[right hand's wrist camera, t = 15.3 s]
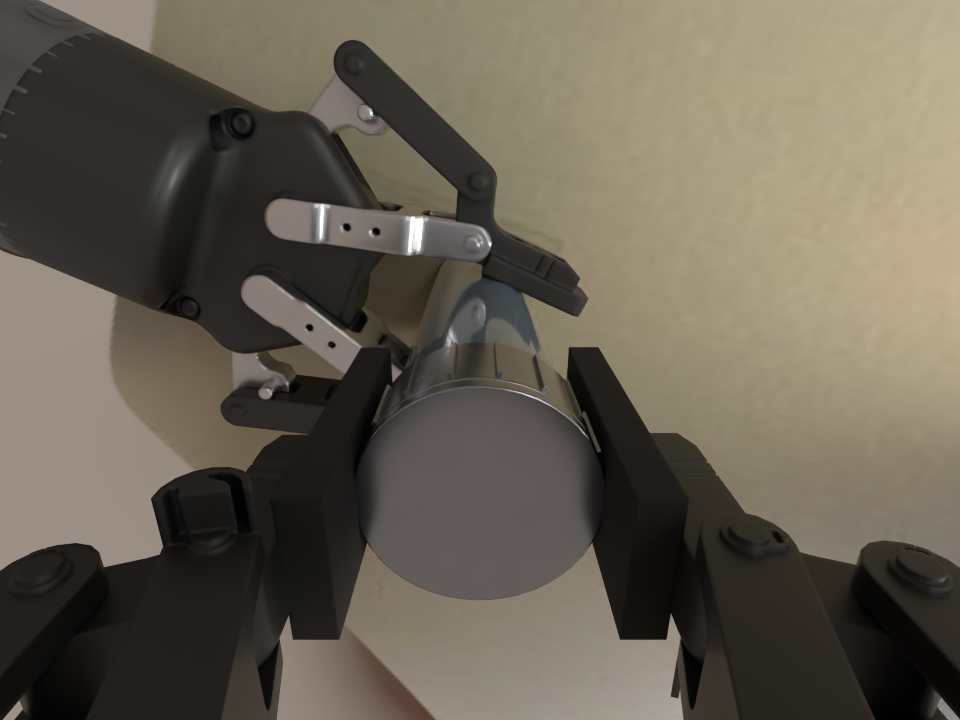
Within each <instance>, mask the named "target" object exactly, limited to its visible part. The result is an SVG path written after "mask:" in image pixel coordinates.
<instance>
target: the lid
mask: <svg viewBox="0 0 960 720" xmlns="http://www.w3.org/2000/svg"><path fill="white" fill-rule="evenodd" d="M370 425H372V427H371V429H370V432H369V434H368V437H367V439H366V442H365V444H364V447H363V450H362V452H361V455H360V457H359V460H358V463H357V466H356V469H355V474H354V486H355V496H356V507H357V517H358V525H359V527H360V529H361V532H362V534H363V536H364V538H365V540H366V541H367V543H368V544H369V546H370V548H371V549H372V550H373V552H374V553H375V554H376V555H377V556H378V558H379V559H380V560H381V561H382V562H383V563H384V564H385V565H386V566H388V567H389V568H390V569H391V570H392V571H393V572H395V573H396V574H398V575H399V576H400V577H402V578H403V579H405V580H407V581H409V582H410V583H412V584H414V585H416V586H418V587H420V588H423V589H425V590H427V591H430V592H433V593H436V594H440V595H443V596H448V597H453V598H458V599H468V600H492V599H500V598H507V597H511V596H516V595H520V594H523V593H526V592H529V591H532V590H535V589H537V588H539V587H541V586H543V585H545V584H548V583H549V582H551V581H552V580H554V579H556V578H557V577H559V576H561V575H562V574H563V573H564V572H566V571H567V570H568V569H569V568H571V567H572V566H573V565H574V564H575V563H576V562H577V561H578V560H579V559H580V558H581V557H582V556H583V554H584V553H585V552H586V550H587V549H588V548H589V546H590V545H591V543H592V542H593V540H594V538H595V536H596V534H597V532H598V530H599V527H600V525H601V521H602V511H603V501H604V491H605V474H604V469H603V465H602V462H601V460H600V456H601V450H600V447H599V445H598V442H597V440H596V437H595V435H594V432H593V430H592V427H591V425H590V422H589V420H588V417H587V415H586V412H582V411H581V408H580V406H579V403H578V401H577V398H576V396H575V393H574V391H573V388H572V386H571V383H570V381H569V380H568V379H566V380H564V379H563V378H562V377H561V375H559V374H558V373H557V372H556V371H555V370H554V369H553V368H552V367H551V366H549V365H548V364H547V363H545V362H544V361H542V360H541V359H540V356H539V355H537V354H535V355H532V354H530V353H528V352H526V351H523V350H520V349H517V348H515V347H511V346H507V345H503V344H500V342H498V341H495V342H494V343H487V342H470V343H463V344H457V343H456V342H455V343H452V344H451V346H448V347H445V348H441V349H439V350H436V351H434V352H432V353H429V354H427V355H425V356H424V357H422V358H420V359H418V358H415V359H414V360H413V362H412V364H411V365H410V366H409V367H407V368H406V369H405V370H404V371H403V372H402V373H401V374H400V375H399V376H398V377H397V378H396V379H395V380H394V382H393V383H392V384H391V386H389V385H388V384H387V385H386V387H385V389H384V391H383V394H382V396H381V399H380V401H379V404H378V406H377V409H376V411H375V414H374V416H373V419H372V421H371V424H370Z"/></svg>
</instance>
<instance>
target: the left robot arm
mask: <svg viewBox="0 0 960 720" xmlns="http://www.w3.org/2000/svg"><path fill="white" fill-rule="evenodd" d="M334 69H335V72H336V74H335V75H334V76H333V78H332V79H331V80H330V82H329V83H328V85H327V86H326V87H325V89H324V90H323V91H322V93H321V94H320V96H319V97H318V98H317V100H316V101H315V102H314V104H313V105H312V107H311V108H310V109H309V111H308V112H307V113H305V112H301V111H284V112H273V111H270V110H267V109H265V108H262V107H260V106H258V105H256V104H254V103H252V102H250V101H247V100H245V99H243V98H241V97H239V96H237V95H235V94H233V93H231V92H229V91H227V90H225V89H222V88H220V87H218V86H216V85H214V84H212V83H210V82H208V81H206V80H204V79H202V78H200V77H198V76H195V75H193V74H191V73H189V72H187V71H185V70H183V69H181V68H179V67H177V66H175V65H173V64H170V63H168V62H166V61H164V60H162V59H160V58H158V57H156V56H154V55H152V54H150V53H148V52H146V51H143V50H141V49H139V48H137V47H135V46H133V45H131V44H129V43H127V42H125V41H123V40H121V39H119V38H116V37H114V36H112V35H110V34H107V33H105V32H103V31H101V30H99V29H97V28H95V27H93V26H91V25H89V24H87V23H85V22H83V21H81V20H79V19H77V18H75V17H73V16H71V15H69V14H67V13H65V12H63V11H60V10H58V9H56V8H54V7H52V6H50V5H48V4H46V3H43V2H41V1H39V0H0V250H2V251H4V252H7V253H9V254H12V255H15V256H19V257H23V258H27V259H31V260H34V261H36V262H38V263H41V264H43V265H46V266H48V267H51V268H53V269H56V270H58V271H60V272H63V273H65V274H68V275H70V276H72V277H75V278H77V279H80V280H82V281H85V282H87V283H90V284H92V285H94V286H97V287H99V288H102V289H104V290H107V291H109V292H112V293H114V294H116V295H119V296H121V297H124V298H126V299H129V300H131V301H133V302H136V303H138V304H141V305H143V306H146V307H148V308H151V309H153V310H156V311H159V312H162V313H166V314H170V315H174V316H178V317H182V318H185V319H188V320H191V321H194V322H196V323H197V324H199V325H200V326H202V327H203V328H204V329H206V330H207V331H208V332H209V333H210V334H211V335H212V336H213V337H214V338H215V339H216V340H217V341H218V342H219V343H220V344H221V345H222V346H223V347H225V348H226V349H228V350H230V351H231V356H232V392H231V393H230V395H229V396H228V397H227V398H226V399H225V400H224V401H223V402H222V404H221V413H222V415H223V417H224V418H225V420H227V421H228V422H229V423H231V424H233V425H237V426H244V427H253V428H261V429H269V430H278V431H286V432H295V433H303V434H310V432H311V430H312V429H313V427H314V425H315V424H316V422H317V420H318V419H319V417H320V415H321V414H322V412H323V410H324V409H325V407H326V405H327V404H328V402H329V400H330V399H331V397H332V395H333V394H334V392H335V390H336V388H337V387H338V385H339V383H340V382H341V380H335V379H327V378H319V377H311V376H303V375H296V373H295V371H294V370H293V368H292V366H291V365H289V364H286V363H284V362H280V361H277V360H275V359H274V358H272V357H271V356H270V354H269V353H268V351H269V350H274V349H279V348H285V347H290V346H295V345H301V344H304V345H305V346H307V347H308V348H309V349H311V350H312V351H313V352H315V353H316V354H317V355H319V356H320V357H321V358H323V359H324V360H325V361H327V362H328V363H329V364H331V365H332V366H333V367H335V368H336V369H337V370H338V371H340V372H341V373H343V374H345V373H346V372H347V370H348V368H349V367H350V365H351V363H352V362H353V360H354V358H355V357H356V355H357V353H358V352H359V350H360V348H361V347H390V348H391V364H392V380H393V382H394V380H395V379H396V378H397V377H398V376H399V375H400V374H401V373H402V372H403V371H404V369H405V366H406V363H407V360H408V357H409V354H410V351H411V348H410V347H408V346H407V345H406V344H405V343H403V342H402V341H401V340H400V339H398V338H397V337H396V336H395V335H393V334H392V333H391V332H390V331H389V330H388V328H387V326H386V324H385V323H384V322H383V321H382V320H381V319H380V318H379V317H378V316H377V315H375V314H374V313H373V312H372V311H370V310H369V309H368V308H367V307H365V306H364V303H365V301H366V298H367V296H368V289H369V280H370V273H371V272H372V270H373V269H374V268H375V266H376V265H377V264H378V262H379V261H380V260H381V259H382V257H383V256H384V253H391V254H398V255H408V256H410V255H425V256H432V257H439V258H445V259H452V260H459V261H466V262H475V263H478V264H480V265H482V274H483V275H485V276H487V277H490V278H492V279H494V280H496V281H498V282H500V283H503V284H505V285H508V286H510V287H512V288H513V289H516V290H518V291H520V292H522V293H524V294H527V295H529V296H531V297H533V298H535V299H537V300H540V301H542V302H544V303H546V304H548V305H550V306H553V307H555V308H557V309H559V310H561V311H563V312H566V313H568V314H570V315H573V316H576V317H579V315H580V313H581V311H582V310H583V308H584V306H585V304H586V302H587V300H588V297H587V296H586V295H585V293H584V292H583V290H582V289H581V288H579V287H578V286H576V285H577V284H578V282H579V280H580V277H579V276H578V275H577V274H576V272H575V271H574V270H573V269H572V268H571V266H570V265H569V264H568V263H567V262H566V261H565V260H564V259H563V258H561V257H559V256H557V255H554V254H552V253H550V252H548V251H546V250H544V249H542V248H539V247H538V246H536V245H533V244H531V243H529V242H527V241H525V240H523V239H521V238H519V237H517V236H515V235H513V234H510V233H508V232H506V231H504V230H503V229H501V228H500V227H499V226H498V225H497V223H496V221H495V219H494V204H495V193H496V186H497V177H496V173H495V171H494V169H493V168H492V166H491V165H490V164H489V163H488V162H487V161H486V160H485V159H484V158H483V157H482V156H481V155H480V154H479V153H477V152H476V151H475V150H474V149H473V148H472V147H471V146H470V145H469V144H468V143H467V142H466V141H465V140H464V139H463V138H462V137H461V136H460V135H459V134H458V133H457V132H456V131H455V130H454V129H453V128H452V127H451V126H450V125H449V124H448V123H447V122H446V121H445V120H444V119H443V118H441V117H440V116H439V115H438V114H437V113H436V112H435V111H434V110H433V109H432V108H431V107H430V106H429V105H428V104H427V103H426V102H425V101H424V100H423V99H422V98H421V97H420V96H419V95H418V94H417V93H416V92H415V91H414V90H413V89H412V88H411V87H410V86H409V85H408V84H407V83H405V82H404V81H403V80H402V79H401V78H400V77H399V76H398V75H397V74H396V73H395V72H394V71H393V70H392V69H391V68H390V67H389V66H388V65H387V64H386V63H385V62H384V61H383V60H382V59H381V58H380V57H379V56H377V55H376V54H375V53H374V52H373V51H372V50H371V49H370V48H369V47H368V46H367V45H365V44H364V43H362V42H360V41H356V40H349V41H346V42H344V43H342V44H341V45H340V46H339V47H338V49H337V50H336V52H335V55H334ZM348 127H354V128H356V129H357V130H359V131H360V132H362V133H364V134H367V135H373V136H380V135H383V134H385V133H386V132H388V130H389V129H390V128H392V129H393V130H394V131H395V132H396V133H397V134H399V135H400V136H401V137H402V138H403V139H404V140H405V141H406V142H407V143H408V144H409V145H410V146H411V147H412V148H413V149H415V150H416V151H417V152H418V153H419V154H420V155H421V156H422V157H423V158H424V159H425V160H426V161H427V162H428V163H429V164H431V165H432V166H433V167H434V168H435V169H436V170H437V171H438V172H439V173H440V174H441V175H442V176H443V177H444V178H445V179H446V180H448V181H449V182H450V183H451V184H452V185H453V186H454V187H455V188H456V189H457V190H458V195H457V210H456V213H452V212H446V211H439V210H433V209H428V208H426V207H422V206H417V205H411V204H404V203H398V202H391V201H385V200H378V199H377V198H376V197H375V195H374V193H373V192H372V190H371V188H370V187H369V185H368V183H367V182H366V180H365V178H364V177H363V175H362V173H361V172H360V170H359V168H358V167H357V165H356V163H355V161H354V160H353V158H352V156H351V155H350V153H349V151H348V150H347V148H346V146H345V145H344V143H343V141H342V140H341V138H340V136H339V135H338V134H339V133H340V132H341V131H342V130H343V129H345V128H348ZM332 341H333V342H334V343H333V342H332Z"/></svg>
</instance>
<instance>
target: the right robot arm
mask: <svg viewBox="0 0 960 720" xmlns="http://www.w3.org/2000/svg"><path fill="white" fill-rule="evenodd" d="M567 379H568V380H569V381H570V383H571V386H572V388H573V391H574V393H575V396H576V398H577V401H578V403H579V406H580V408H581V411H582V412H586V415H587V417H588V420H589V422H590V425H591V427H592V430H593V432H594V435H595V437H596V440H597V442H598V445H599V447H600V450H601V456H600V460H601V462H602V465H603V469H604V474H605V491H604V501H603V511H602V521H601V525H600V527H599V530H598V532H597V534H596V536H595V538H594V540H593V542H592V543H593V546H594V550H595V553H596V557H597V560H598V564H599V567H600V571H601V574H602V578H603V581H604V585H605V588H606V592H607V595H608V599H609V602H610V606H611V609H612V613H613V616H614V620H615V623H616V627H617V630H618V634H619V637H620V640H666V639H667V633H668V627H669V620H670V614H672V617H673V619H674V622H675V624H676V626H677V629H678V631H679V634H680V636H681V640H680V645H679V651H678V656H677V662H676V668H675V673H674V679H673V685H672V692H671V697H675V698H678V697H679V691H680V692H681V700H682V709H683V718H684V720H948V719H947V718H946V717H945V716H944V715H943V714H942V712H941V711H940V710H939V709H938V707H937V705H938V703H939V701H940V698H942V699H943V700H944V701H945V702H946V703H947V705H948V706H949V707H950V708H951V709H952V710H953V712H954V713H955V714H956V715H957V716H958V718H959V719H960V568H959V567H958V566H956V565H955V564H953V563H952V562H950V561H949V560H947V559H945V558H943V557H941V556H939V555H937V554H935V553H932V552H931V551H929V550H927V549H924V548H921V547H918V546H917V547H916V546H914V545H911V544H906V543H901V542H892V541H878V542H872V543H869V544H867V545H866V546H865V547H864V548H863V549H861V551H860V554H859V558H858V561H857V564H856V565H854V564H849V563H844V562H840V561H835V560H830V559H825V558H820V557H816V556H812V555H808V554H804V553H801V552H799V550H798V547H797V546H796V544H795V543H794V541H793V540H792V539H791V537H790V536H789V535H788V534H787V533H786V532H784V531H783V530H782V529H780V528H779V527H778V526H776V525H775V524H773V523H771V522H769V521H766V520H764V519H762V518H760V517H757V516H754V515H750V514H746V513H745V512H744V511H743V509H742V508H741V507H740V505H739V504H738V502H737V501H736V500H735V498H734V497H733V496H732V494H731V493H730V492H729V490H728V489H727V487H726V486H725V485H724V483H723V482H722V481H721V479H720V478H719V476H716V472H715V471H714V470H713V468H712V467H711V465H710V464H709V463H707V460H706V459H705V457H704V456H703V455H702V453H701V452H700V450H699V449H698V448H697V446H696V445H694V444H693V443H691V442H690V441H688V440H687V439H685V438H684V437H682V436H681V435H679V434H678V433H649V431H648V430H647V428H646V426H645V425H644V423H643V421H642V420H641V418H640V416H639V415H638V413H637V411H636V410H635V408H634V406H633V405H632V403H631V401H630V399H629V398H628V396H627V394H626V393H625V391H624V389H623V388H622V386H621V384H620V383H619V381H618V379H617V378H616V376H615V374H614V373H613V371H612V369H611V368H610V366H609V364H608V363H607V361H606V359H605V358H604V356H603V354H602V353H601V351H600V349H599V348H598V347H569V355H568V371H567ZM392 383H393V380H392V364H391V348H390V347H361V348H360V350H359V352H358V353H357V355H356V357H355V358H354V360H353V362H352V363H351V365H350V367H349V368H348V370H347V372H346V373H345V375H344V377H343V378H342V380H341V382H340V383H339V385H338V387H337V388H336V390H335V392H334V394H333V395H332V397H331V399H330V400H329V402H328V404H327V405H326V407H325V409H324V410H323V412H322V414H321V415H320V417H319V419H318V420H317V422H316V424H315V425H314V427H313V429H312V430H311V432H310V434H309V435H282V436H280V437H279V438H277V439H276V440H274V441H273V442H271V443H270V444H268V445H267V446H265V447H264V448H263V449H262V450H261V452H260V453H259V455H258V456H257V457H256V459H255V460H254V462H253V465H251V466H250V467H249V468H248V470H247V471H246V473H245V472H244V471H243V470H239V469H235V468H231V467H212V468H207V469H202V470H198V471H193V472H191V473H188V474H185V475H183V476H180V477H178V478H175V479H174V480H172V481H170V482H169V483H167V484H166V485H164V486H162V487H161V488H160V489H159V490H158V491H157V492H156V493H155V495H154V496H153V497H152V498H151V501H152V505H153V508H154V512H155V516H156V520H157V524H158V528H159V532H160V536H161V539H162V543H163V548H162V551H161V553H160V555H157V556H153V557H150V558H146V559H141V560H136V561H132V562H127V563H123V564H118V565H113V566H108V567H104V566H103V563H102V560H101V557H100V554H99V552H98V551H97V550H96V549H94V548H93V547H92V546H91V545H84V544H78V543H73V544H64V545H56V546H52V547H48V548H46V549H41V550H38V551H35V552H33V553H30V554H29V555H27V556H25V557H23V558H21V559H19V560H16V561H14V562H12V563H11V564H9V565H8V566H7V567H5V568H4V569H2V570H1V571H0V720H3V719H4V717H5V716H6V715H7V714H8V713H9V712H10V710H11V709H12V708H13V707H14V706H15V704H16V703H17V702H18V701H19V700H20V703H21V705H22V707H23V710H22V711H21V712H20V714H19V715H18V716H17V717H16V719H15V720H276V719H277V710H278V702H279V693H280V684H281V675H282V666H283V658H282V651H281V645H280V640H279V637H280V635H281V633H282V630H283V628H284V625H285V623H286V620H287V618H288V616H289V618H290V624H291V630H292V636H293V640H339V639H340V636H341V632H342V628H343V625H344V622H345V618H346V615H347V611H348V608H349V604H350V601H351V597H352V594H353V590H354V587H355V583H356V580H357V576H358V573H359V569H360V566H361V562H362V559H363V555H364V552H365V548H366V545H367V541H366V540H365V538H364V536H363V534H362V532H361V529H360V527H359V525H358V517H357V507H356V496H355V486H354V474H355V469H356V466H357V463H358V460H359V457H360V455H361V452H362V450H363V447H364V444H365V442H366V439H367V437H368V434H369V432H370V429H371V427H372V425H370V424H371V421H372V419H373V416H374V414H375V411H376V409H377V406H378V404H379V401H380V399H381V396H382V394H383V391H384V389H385V387H386V385H387V384H388V385H389V386H391V384H392Z"/></svg>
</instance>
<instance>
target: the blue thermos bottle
mask: <svg viewBox="0 0 960 720" xmlns="http://www.w3.org/2000/svg"><path fill="white" fill-rule="evenodd" d="M495 341H498V342H500V344H503V345H507V346H511V347H515V348H517V349H520V350H523V351H526V352H528V353H530V354H532V355H535V354H537V355H539V356H540V359H541V360H542V361H544V362H545V363H547V364H548V365H549V366H551V367H552V368H553V369H554V370H555V367H554V365H553V362H552V359H551V356H550V353H549V350H548V347H547V344H546V341H545V338H544V335H543V332H542V329H541V326H540V324H539V321H538V318H537V315H536V312H535V309H534V306H533V303H532V300H531V297H530V296H529V295H527V294H524V293H522V292H520V291H518V290H516V289H513V288H512V287H510V286H508V285H505V284H503V283H500V282H498V281H496V280H494V279H492V278H490V277H487V276H485V275H483V274H482V265H480V264H478V263H475V262H466V261H459V260H452V259H446V260H445V261H444V262H443V264H442V265H441V267H440V269H439V271H438V273H437V276H436V279H435V282H434V285H433V288H432V291H431V293H430V296H429V299H428V302H427V305H426V308H425V311H424V314H423V317H422V319H421V322H420V325H419V328H418V331H417V334H416V337H415V340H414V343H413V345H412V348H411V351H410V354H409V357H408V360H407V363H406V366H405V369H406V368H407V367H409V366H410V365H411V364H412V362H413V360H414V359H415V358H418V359H420V358H422V357H424V356H425V355H427V354H429V353H432V352H434V351H436V350H439V349H441V348H445V347H448V346H451V344H452V343H455V342H456V343H457V344H463V343H470V342H487V343H494V342H495ZM405 369H404V370H405ZM555 371H556V370H555Z"/></svg>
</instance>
